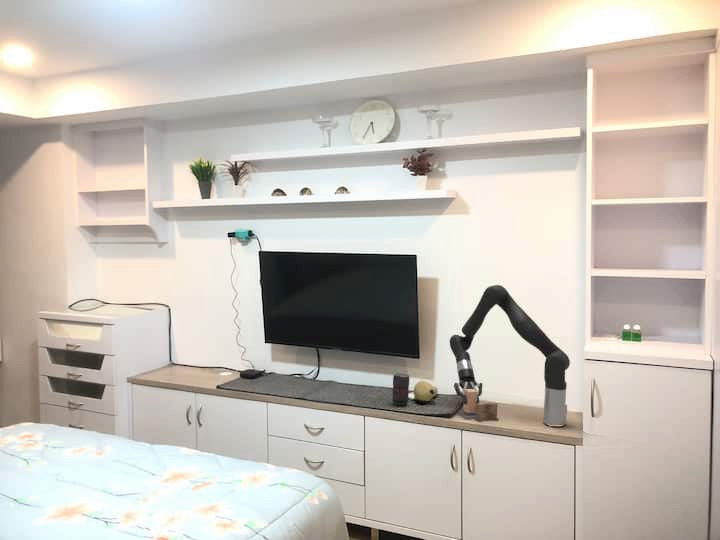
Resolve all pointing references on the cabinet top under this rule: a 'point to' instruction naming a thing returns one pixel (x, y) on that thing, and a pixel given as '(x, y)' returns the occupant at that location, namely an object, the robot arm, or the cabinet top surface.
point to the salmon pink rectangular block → (470, 401)
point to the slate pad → (467, 415)
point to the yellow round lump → (424, 391)
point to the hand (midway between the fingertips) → (471, 403)
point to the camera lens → (400, 389)
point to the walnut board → (486, 412)
